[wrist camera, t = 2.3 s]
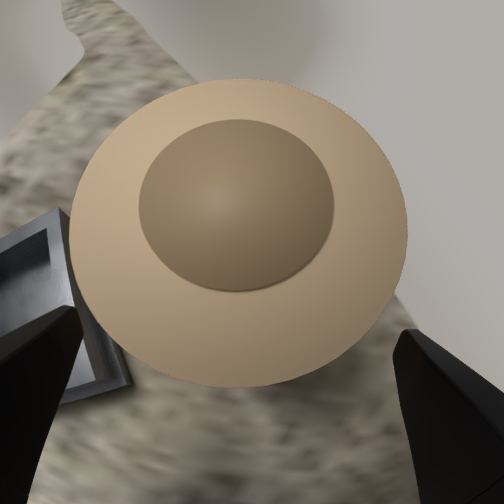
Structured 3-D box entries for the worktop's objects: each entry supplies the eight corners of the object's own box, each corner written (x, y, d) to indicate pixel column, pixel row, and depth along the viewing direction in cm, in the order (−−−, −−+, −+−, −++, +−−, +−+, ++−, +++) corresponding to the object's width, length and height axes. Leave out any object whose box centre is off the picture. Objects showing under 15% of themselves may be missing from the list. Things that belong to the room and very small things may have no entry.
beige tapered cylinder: (314, 341, 17) (463, 282, 4) (214, 383, 16) (123, 440, 4) (271, 247, 19) (307, 56, 6) (176, 285, 18) (57, 137, 5)
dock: (132, 383, 16) (107, 387, 12) (9, 417, 14) (-23, 419, 11) (88, 221, 19) (64, 196, 16) (-18, 276, 18) (-46, 262, 14)
